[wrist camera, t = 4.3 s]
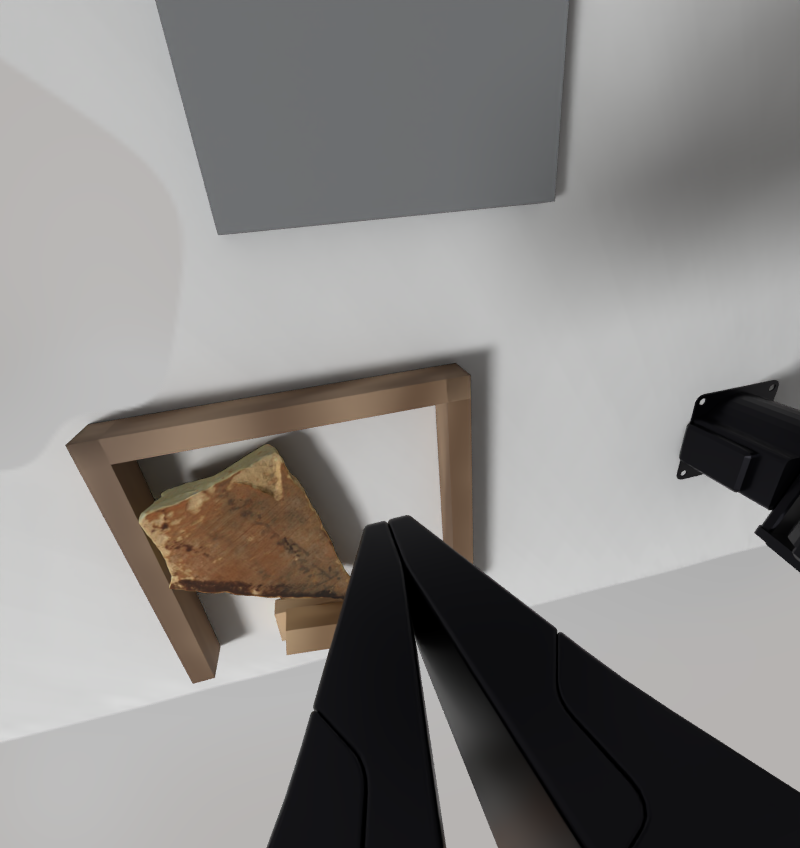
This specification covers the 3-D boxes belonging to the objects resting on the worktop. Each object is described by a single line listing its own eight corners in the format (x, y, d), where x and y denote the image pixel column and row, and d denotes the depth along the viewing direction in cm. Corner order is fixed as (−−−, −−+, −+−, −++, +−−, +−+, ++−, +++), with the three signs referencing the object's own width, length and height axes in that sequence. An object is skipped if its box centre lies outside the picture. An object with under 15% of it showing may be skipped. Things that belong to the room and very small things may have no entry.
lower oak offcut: (385, 569, 26) (390, 587, 25) (388, 595, 27) (393, 613, 26) (275, 594, 25) (274, 614, 24) (282, 619, 26) (282, 640, 25)
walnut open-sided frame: (455, 362, 21) (470, 374, 19) (462, 582, 28) (473, 606, 26) (88, 424, 18) (65, 445, 16) (200, 651, 25) (192, 683, 23)
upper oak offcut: (385, 596, 25) (390, 616, 24) (383, 618, 26) (387, 639, 25) (286, 608, 24) (285, 630, 22) (287, 632, 24) (286, 655, 23)
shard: (356, 583, 25) (364, 604, 23) (237, 650, 23) (236, 678, 22) (278, 436, 20) (282, 450, 18) (122, 508, 18) (111, 530, 17)
